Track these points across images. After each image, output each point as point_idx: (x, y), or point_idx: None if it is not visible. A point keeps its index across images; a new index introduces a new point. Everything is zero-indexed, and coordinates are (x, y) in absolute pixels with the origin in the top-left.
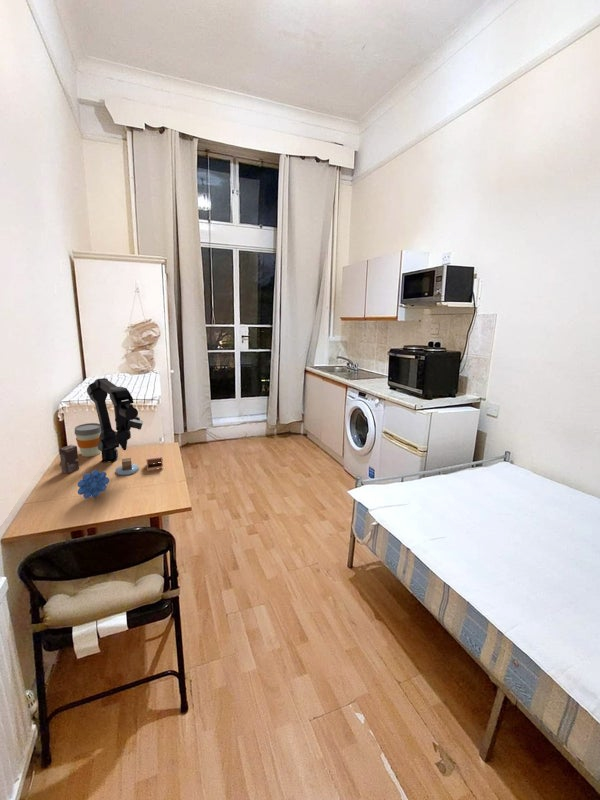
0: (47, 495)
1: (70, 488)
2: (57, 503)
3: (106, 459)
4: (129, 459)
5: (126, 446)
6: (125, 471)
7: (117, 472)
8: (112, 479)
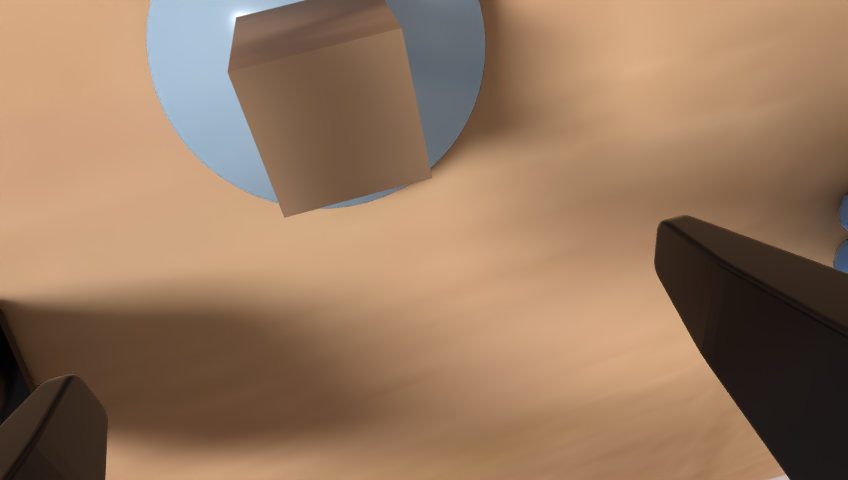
0: (646, 469)
1: (599, 407)
2: None
3: (6, 400)
4: (331, 76)
5: (810, 261)
6: (434, 66)
7: (432, 162)
8: (544, 167)
